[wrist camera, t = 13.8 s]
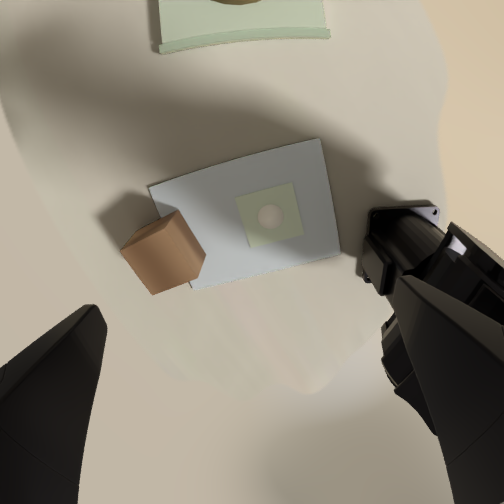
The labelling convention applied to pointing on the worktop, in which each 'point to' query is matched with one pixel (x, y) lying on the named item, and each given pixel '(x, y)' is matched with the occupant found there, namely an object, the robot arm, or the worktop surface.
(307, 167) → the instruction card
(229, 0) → the cork
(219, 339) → the worktop surface
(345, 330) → the worktop surface
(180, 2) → the baseplate
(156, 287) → the brick
